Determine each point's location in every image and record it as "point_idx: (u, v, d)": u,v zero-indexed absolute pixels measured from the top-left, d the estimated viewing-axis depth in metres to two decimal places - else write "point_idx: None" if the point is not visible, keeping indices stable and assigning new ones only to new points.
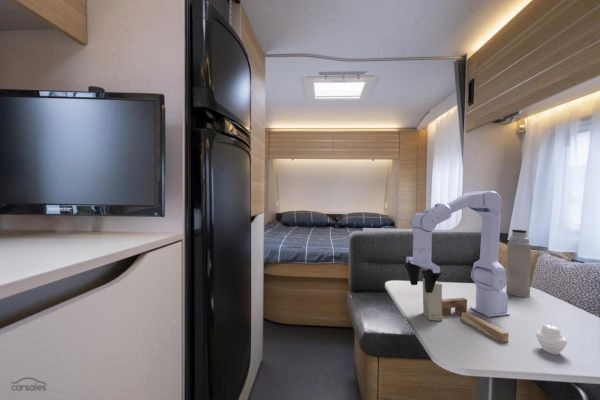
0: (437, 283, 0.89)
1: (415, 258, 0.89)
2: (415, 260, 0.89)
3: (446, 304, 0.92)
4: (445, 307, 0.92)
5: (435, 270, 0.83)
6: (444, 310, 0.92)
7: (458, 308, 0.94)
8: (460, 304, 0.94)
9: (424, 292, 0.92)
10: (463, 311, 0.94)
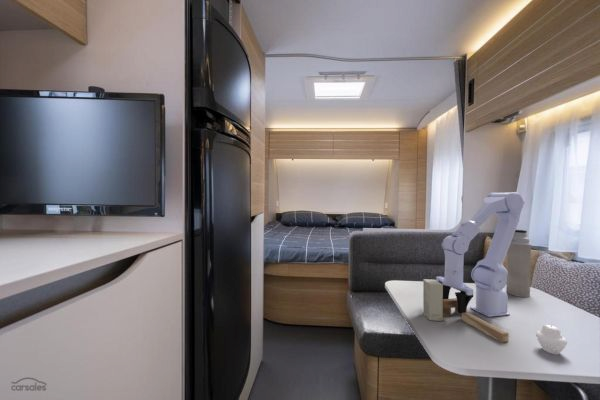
0: (438, 283, 0.89)
1: (447, 279, 0.93)
2: (447, 281, 0.93)
3: (446, 304, 0.92)
4: (445, 307, 0.92)
5: (469, 292, 0.87)
6: (444, 310, 0.92)
7: None
8: None
9: (425, 292, 0.92)
10: None
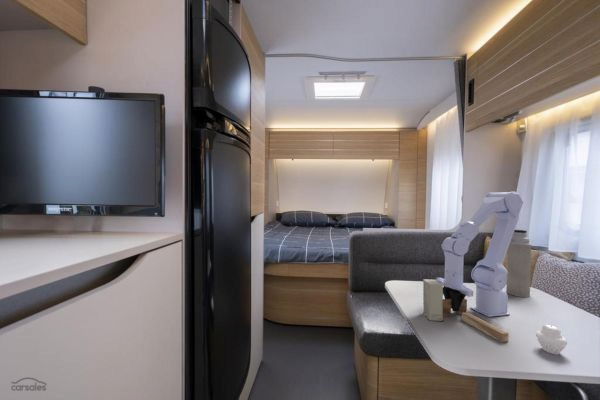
0: (438, 283, 0.89)
1: (447, 281, 0.93)
2: (447, 283, 0.93)
3: (446, 304, 0.92)
4: (445, 307, 0.92)
5: (469, 294, 0.87)
6: (444, 310, 0.92)
7: None
8: None
9: (425, 292, 0.92)
10: (463, 311, 0.94)
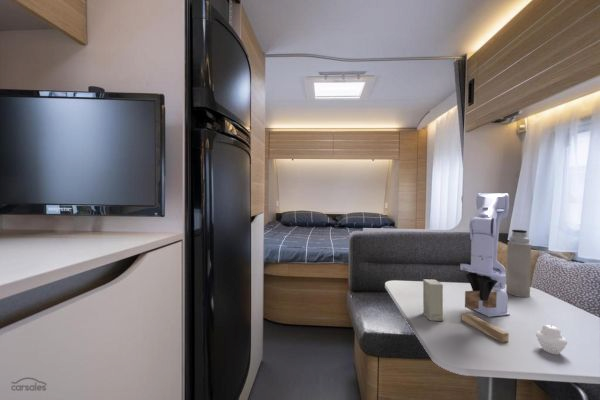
0: (438, 283, 0.89)
1: (475, 266, 0.82)
2: (475, 268, 0.82)
3: (473, 296, 0.82)
4: (472, 299, 0.81)
5: (501, 280, 0.76)
6: (472, 303, 0.81)
7: (487, 301, 0.83)
8: (489, 296, 0.83)
9: (424, 292, 0.92)
10: (492, 305, 0.83)
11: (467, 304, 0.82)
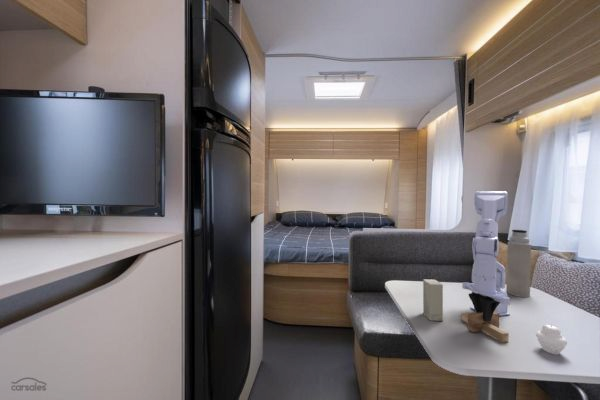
0: (438, 283, 0.89)
1: (478, 286, 0.81)
2: (478, 288, 0.81)
3: (476, 318, 0.81)
4: (475, 322, 0.80)
5: (505, 302, 0.75)
6: (474, 326, 0.80)
7: None
8: (492, 318, 0.82)
9: (424, 292, 0.92)
10: None
11: (470, 326, 0.81)
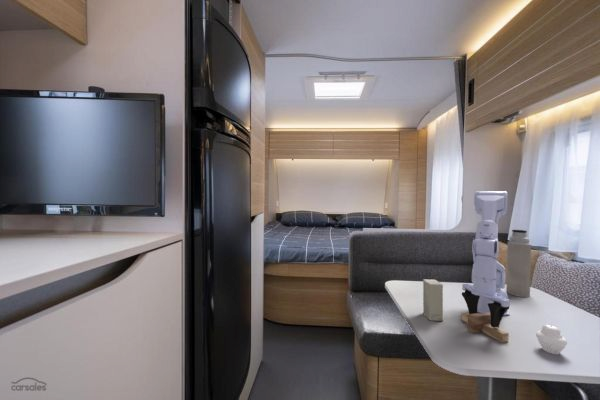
0: (438, 283, 0.89)
1: (478, 288, 0.81)
2: (478, 290, 0.81)
3: (476, 319, 0.81)
4: (475, 323, 0.80)
5: (505, 304, 0.75)
6: (474, 327, 0.80)
7: None
8: None
9: (424, 292, 0.92)
10: None
11: (470, 327, 0.81)
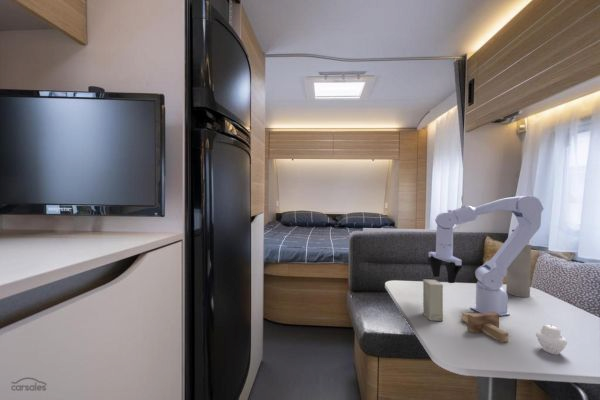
0: (438, 283, 0.89)
1: (438, 252, 1.00)
2: (438, 254, 1.00)
3: (476, 319, 0.81)
4: (475, 323, 0.80)
5: (457, 263, 0.94)
6: (474, 327, 0.80)
7: None
8: (492, 319, 0.82)
9: (424, 292, 0.92)
10: None
11: (470, 327, 0.81)
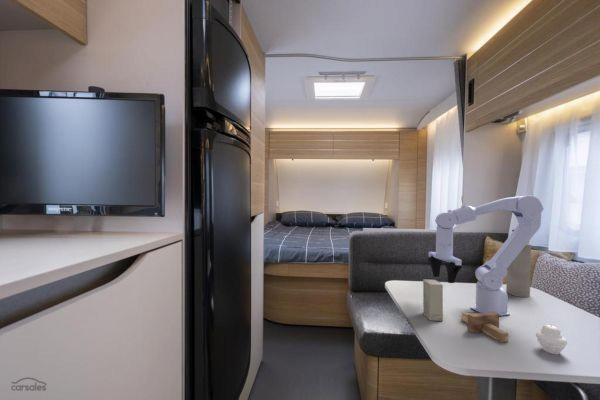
0: (438, 283, 0.89)
1: (438, 252, 1.00)
2: (438, 254, 1.00)
3: (476, 319, 0.81)
4: (475, 323, 0.80)
5: (457, 263, 0.94)
6: (474, 327, 0.80)
7: None
8: (492, 319, 0.82)
9: (424, 292, 0.92)
10: None
11: (470, 327, 0.81)
